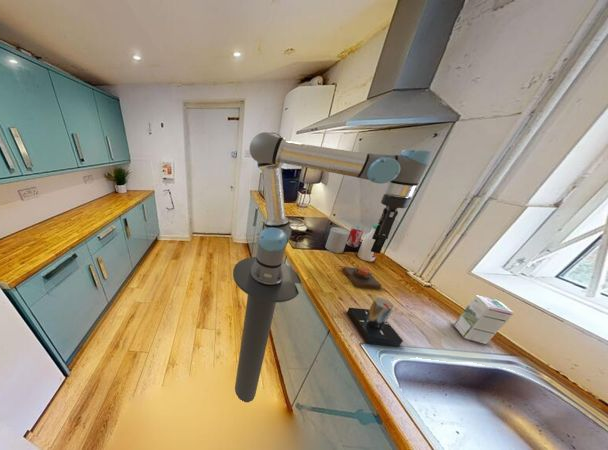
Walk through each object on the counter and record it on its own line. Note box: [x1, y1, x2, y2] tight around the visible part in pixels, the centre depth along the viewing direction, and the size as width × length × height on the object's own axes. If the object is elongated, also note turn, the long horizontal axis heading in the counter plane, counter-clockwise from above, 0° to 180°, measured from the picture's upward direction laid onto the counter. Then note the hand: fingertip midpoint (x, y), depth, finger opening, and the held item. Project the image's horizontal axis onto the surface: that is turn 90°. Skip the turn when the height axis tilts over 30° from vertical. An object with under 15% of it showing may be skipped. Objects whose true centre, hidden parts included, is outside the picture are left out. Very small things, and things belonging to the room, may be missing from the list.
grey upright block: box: [365, 297, 395, 329], centre depth 66 cm, size 5×5×9 cm
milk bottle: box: [357, 223, 379, 262], centre depth 106 cm, size 8×8×20 cm
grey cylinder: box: [324, 226, 350, 254], centre depth 116 cm, size 10×10×12 cm
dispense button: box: [357, 266, 370, 276], centre depth 91 cm, size 4×4×2 cm
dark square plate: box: [342, 266, 382, 290], centre depth 93 cm, size 12×10×4 cm
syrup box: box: [453, 294, 515, 345], centre depth 65 cm, size 6×6×14 cm
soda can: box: [346, 226, 364, 248], centre depth 120 cm, size 6×6×12 cm
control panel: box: [346, 307, 404, 348], centre depth 68 cm, size 12×10×3 cm
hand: (375, 245), depth 80 cm, fingers open, 13 cm apart
